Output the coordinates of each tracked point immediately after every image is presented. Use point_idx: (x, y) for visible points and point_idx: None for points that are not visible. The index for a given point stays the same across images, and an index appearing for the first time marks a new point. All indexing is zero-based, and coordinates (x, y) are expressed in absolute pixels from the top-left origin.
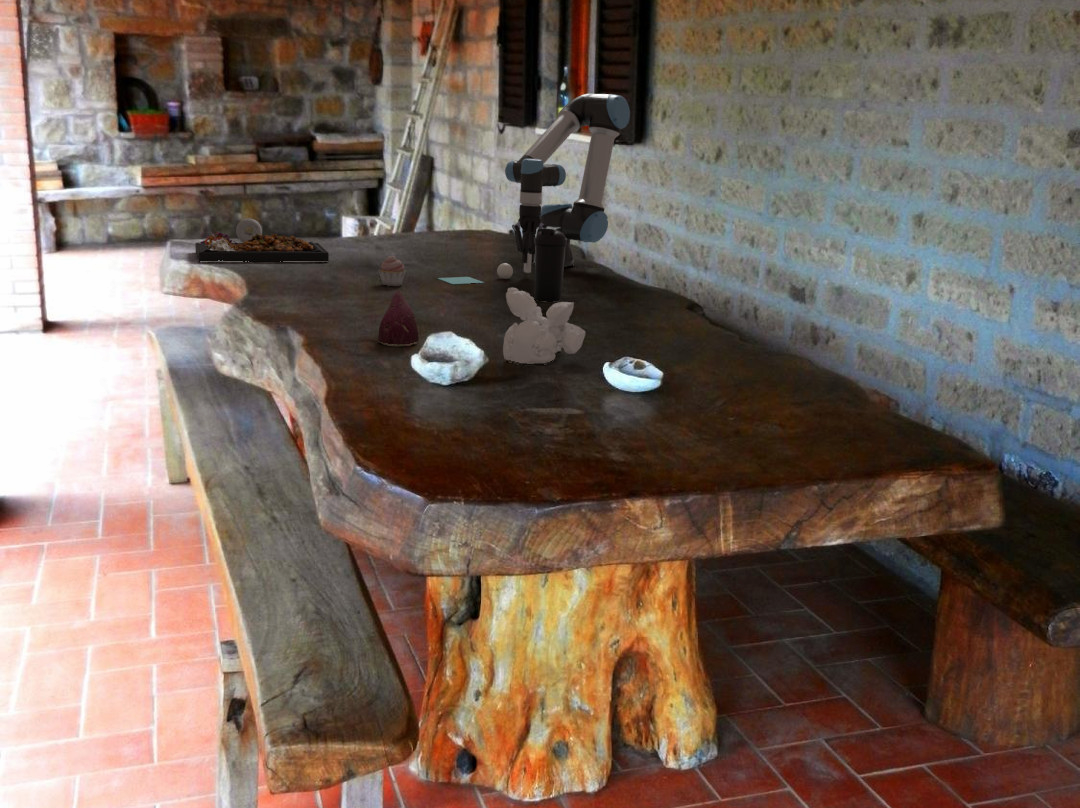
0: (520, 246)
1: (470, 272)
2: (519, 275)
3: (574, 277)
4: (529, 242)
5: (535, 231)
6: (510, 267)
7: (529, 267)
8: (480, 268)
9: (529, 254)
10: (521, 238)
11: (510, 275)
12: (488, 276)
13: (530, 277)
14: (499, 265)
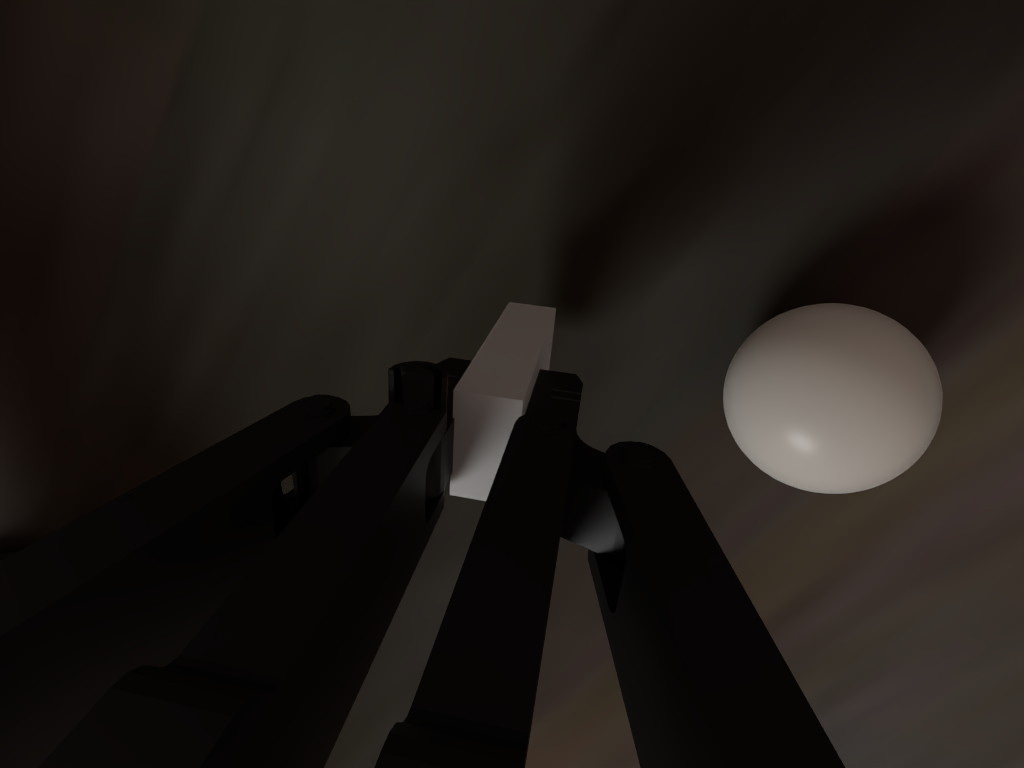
0: (694, 518)
1: (818, 698)
2: None
3: (71, 186)
4: (388, 599)
5: (85, 763)
6: (828, 347)
7: (521, 323)
8: (616, 759)
9: (497, 396)
10: (700, 673)
11: (797, 308)
12: (831, 524)
13: (483, 339)
14: (908, 467)
